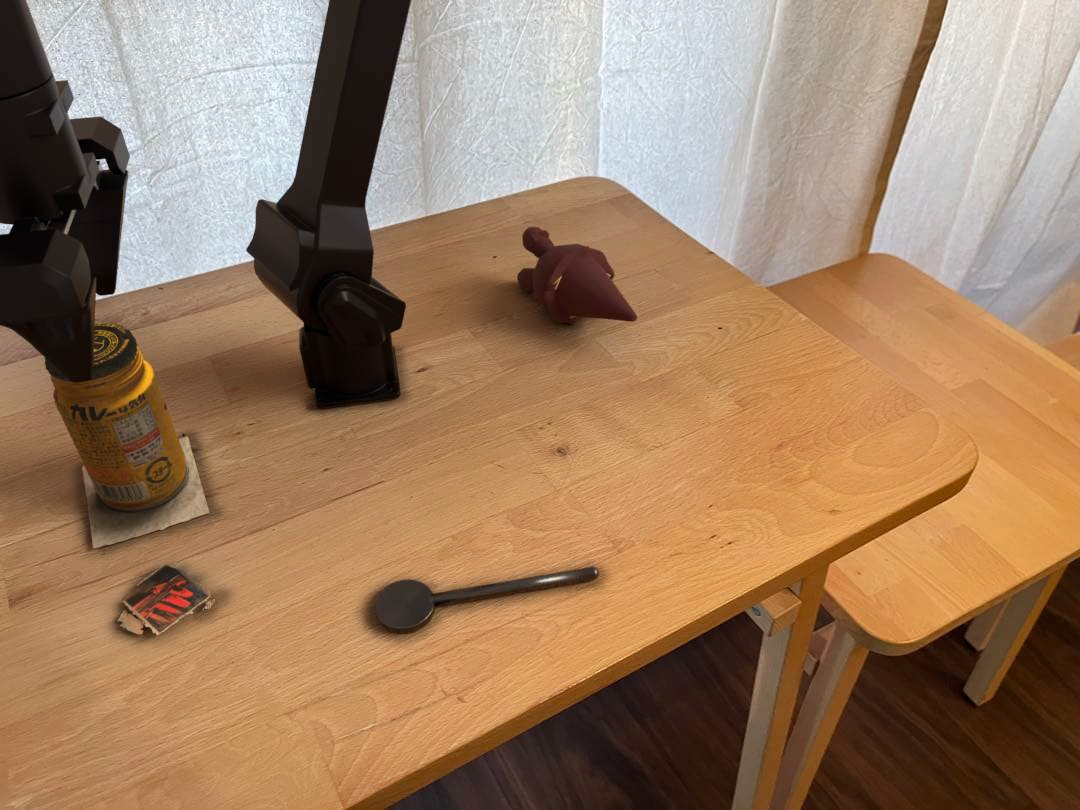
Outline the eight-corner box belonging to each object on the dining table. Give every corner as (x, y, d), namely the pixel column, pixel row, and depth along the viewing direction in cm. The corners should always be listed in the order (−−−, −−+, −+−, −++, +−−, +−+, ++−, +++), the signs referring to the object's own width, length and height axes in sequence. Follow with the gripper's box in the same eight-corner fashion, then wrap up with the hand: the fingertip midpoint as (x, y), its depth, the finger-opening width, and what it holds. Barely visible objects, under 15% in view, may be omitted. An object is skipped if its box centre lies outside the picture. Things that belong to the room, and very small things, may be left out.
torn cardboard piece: (160, 564, 56) (158, 559, 56) (225, 591, 54) (223, 586, 54) (105, 620, 53) (103, 615, 52) (172, 650, 51) (170, 646, 51)
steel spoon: (591, 554, 57) (592, 546, 56) (606, 599, 54) (606, 591, 53) (373, 590, 54) (372, 582, 54) (377, 639, 52) (376, 630, 51)
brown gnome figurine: (677, 272, 70) (560, 214, 80) (609, 281, 66) (494, 219, 76) (659, 350, 73) (549, 286, 83) (592, 364, 69) (485, 294, 79)
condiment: (188, 438, 65) (139, 302, 57) (210, 514, 59) (159, 375, 51) (82, 469, 63) (17, 332, 55) (94, 552, 57) (23, 412, 49)
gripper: (-121, 33, 50) (-8, 270, 60) (-279, 182, 36) (-96, 457, 46) (87, 19, 51) (163, 251, 62) (13, 156, 38) (127, 426, 48)
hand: (95, 334), depth 54 cm, fingers open, 9 cm apart
